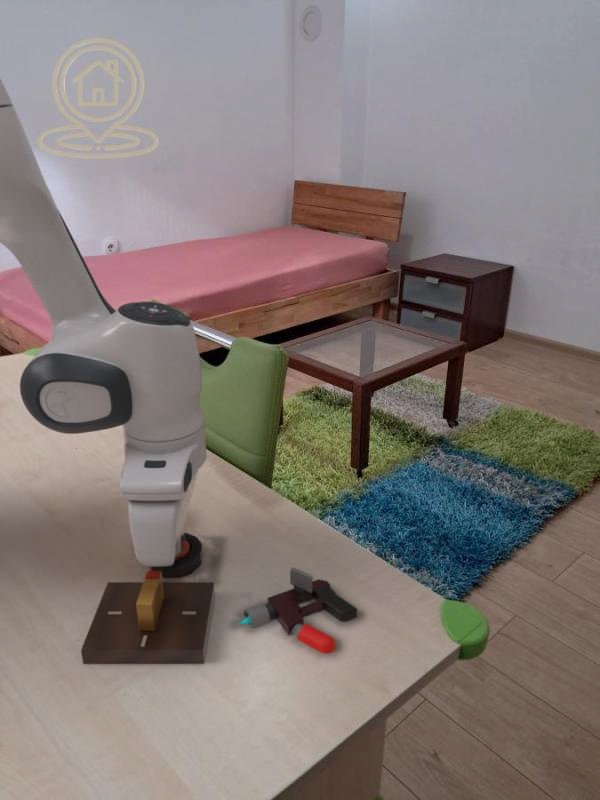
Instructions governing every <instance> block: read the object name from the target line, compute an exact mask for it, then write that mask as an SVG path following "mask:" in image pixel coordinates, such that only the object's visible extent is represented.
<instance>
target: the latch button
mask: <svg viewBox="0 0 600 800" xmlns="http://www.w3.org/2000/svg"><path fill="white" fill-rule="evenodd" d="M189 553H190V545H189V543H188V542H187V541H186V540H184V541H183V545H182V549H181V553H180V554H178V555H176V556H175V560H177V559H180V558H183V557H186V556H187V555H188V554H189Z"/></svg>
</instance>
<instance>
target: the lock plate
mask: <svg viewBox="0 0 600 800" xmlns="http://www.w3.org/2000/svg"><path fill="white" fill-rule="evenodd" d="M143 582H144V581H124V582H123V581H108V582H107V583H106V586H105V588H104V590H103V594H102V596H101V599H100V601H99V604H98V607H97V609H96V611H95V614H94V617H93V619H92V621H91V624H90V626H89V628H88V631H87V634H86V637H85V639H84V641H83V644H82V647H81V649H80V653H81V659H82V664H83V665H204V664H205V660H206V654H207V648H208V641H209V635H210V629H211V622H212V617H213V611H214V610H213V609H214V603H215V597H216V589H215V588H216V586H215V582H214V581H211V582H210V581H209V582H208V581H206V582H205V581H204V582H202V581H199V582H198V581H186V582H185V581H182V582H181V581H168V582H167V581H162V582H163V592H164V599H163V602H162V606H161V610H160V613H159V617H158V621H157V624H156V628H155V631H139V624H138V616H137V608H136V603H137V600H138V597H139V594H140V591H141V588H142V585H143Z"/></svg>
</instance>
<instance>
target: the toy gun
mask: <svg viewBox="0 0 600 800" xmlns="http://www.w3.org/2000/svg"><path fill="white" fill-rule="evenodd" d="M289 571H290V573H289V577H290V578H289V581H290V582H289V584H290V585H292V586H293V588H291V589H289V590H286V591H283V592H280V593H277V594H274V595H272V596H269V597H267V602H266V603H263V602H262V603H261V602H260V603H259V604H256V605H254V606H251V607H248V608H245V609H243V615H244V616H246V615H248V616H246V618H244V619H243V620H242V621H241V622H239V623H238V625H246V624H251V628H252V629H256V628H258V627H261V626H264V625H266V624H269V623H271V621H273V620H275V619H276V620H277V621H278V623H279V624H280V626H281V627H282V628H283V630H284V631H285V632H286V634H287V635H288V636H289V635H293V636H295V637H297V641H299V642H301V643H303V644H305V645H307V646H308V647H310V648H312V649H314V650H315V651H317V652H319V653H321V654H325V655H326V654H327V655H328V654H331V653H333V652H334V651H335V650H336V647H337V644H336V643H337V642H336V640H335V639H334V637H333V636H331V635H329V634H327V633H326V632H324V631H322V630H320V629H318V628H316V627H313V626H312V625H310V624H308V623H305V624H304V618H306V617H308V616H311V615H313V614H315V613H318V612H321V611H323V610H324V611H326V612H327V613H329V614H330V615H331V616H333V617H334V618H335V619H337V620H338V621H340V622H341V623H345V622H348V621H350V620H353V619H356V618H357V617H358V609H357V607H355V606H354V605H353V604H351V603H350V602H348V601H347V600H345V599H344V598H343V597H341V596H339V595H338V594H337V593H336V592H335V591H334V590H333V589H332V587H331V584H330V583H329V582H328V581H327V580H325V579H320V578H319V579H316V580H314V576H313V575H312V574H310V573H308V572H306V571H303V570H301V569H298V568H296V567H294V566H291V568H290V570H289ZM313 599H314V600H315V601H313V602H311V603H308V604H306V605H303V606H300V604H302V603H303V604H304V603H305V602H307V601H310V600H313Z"/></svg>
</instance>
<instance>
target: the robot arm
mask: <svg viewBox="0 0 600 800" xmlns="http://www.w3.org/2000/svg"><path fill="white" fill-rule="evenodd" d="M35 155H36V154H35V153H34V151H33V148H32V145H31V143H30V141H29V139H28V136H27V134H26V131H25V129H24V126H23V123H22V122H21V120H20V117H19V115H18V112H17V110H16V107H14V103H13V102H12V99H11V97H10V95H9V93H8V91H7V88H6V86H5V84H4V82H3V80H2V78H1V77H0V244H1V245H3V246H4V247H5V248H6V249H8V251H10V253H11V254H12V255H13V256H14V257H15V259H17V261H18V263H19V264H20V266H21V268H22V270H23V271H24V272H23V273H25V275H26V277H27V279H28V280H29V282H30V284H31V286H32V287H33V289H34V291H35V293H36V295H37V296H38V298H39V300H40V302H41V304H42V305H43V307H44V309H45V310H46V312H47V315H48V317H49V319H50V325H51V336H50V340H49V341H48V342H46V344H45V345H43V346H42V347H41V348H40V350H38V352H36V354H35V355H34V356H33V357H32V359H31V360H30V361H29V362H28V364H27V365H26V366H25V368H24V369H23V372H22V374H21V377H20V380H19V381H20V382H19V392H20V398H21V401H22V402H23V405H24V407H25V408H26V410H27V411H28V413H29V414H30V416H31V417H32V418H33V419H34V420H35V421H37V423H39V424H41V426H43V427H45V428H47V429H48V430H50V431H51V430H52V431H54V432H57V433H61V434H66V435H68V434H69V435H77V434H85V433H92V432H98V431H104V430H109V429H114V428H118V427H120V426H122V433H123V440H124V444H123V445H124V446H123V453H124V463H123V466H122V473H121V476H120V483H119V491H120V492H119V493H120V498H121V499H122V500H124V501H128V505H127V509H128V510H127V511H128V522H129V529H130V533H131V534H130V535H131V539H132V545H133V549H134V553H135V557H136V560H137V562H138V563H139V564H140V565H141V566H143V567H148V568H149V567H163V566H171V565H172V564H173V563H174V561H175V556H176V555H178V554H180V553H181V549H182V545H183V541H184V538H185V537H184V533H185V522H186V518H187V515H188V513H189V512H188V511H189V508H190V504H191V501H192V497H193V493H194V489H195V485H196V481H197V477H198V474H199V469H201V468H202V467H203V465H204V464H205V463H206V460H207V444H206V443H207V441H206V440H207V439H206V425H205V424H206V423H205V415H204V412H203V409H202V407H201V403H200V402H201V401H200V398H201V392H202V389H203V379H202V366H201V365H202V364H201V357H200V349H199V343H198V338H197V335H196V330H195V328H194V325H193V324H192V321H191V320H190V317H188V316H187V315H186V314H185V313H184V312H183V311H181V310H179V309H178V308H175V307H173V306H171V305H168V304H164V303H162V302H161V303H160V302H155V301H135V302H134V301H133V302H128V303H124V304H122V305H120V306H119V307H118V308H117V309H114V307H113V306H112V305H111V304H110V303H109V302H108V301H107V300H106V298H105V297H104V295H103V294H102V291H101V290H100V289H99V286H98V284H97V282H96V280H95V278H94V277H93V275H92V272H91V270H90V268H89V267H88V265H87V263H86V261H85V259H84V257H83V255H82V253H81V251H80V249H79V246H78V244H77V243H76V241H75V238H74V237H73V235H72V233H71V231H70V229H69V227H68V225H67V223H66V221H65V220H64V217H63V216H62V214H61V212H60V210H59V209H58V206H57V205H56V203H55V199H54V197H53V196H52V193H51V191H50V189H49V185H48V184H47V182H46V180H45V178H44V175H43V173H42V171H41V168H40V166H39V163H38V160H37V158H36V156H35Z"/></svg>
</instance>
